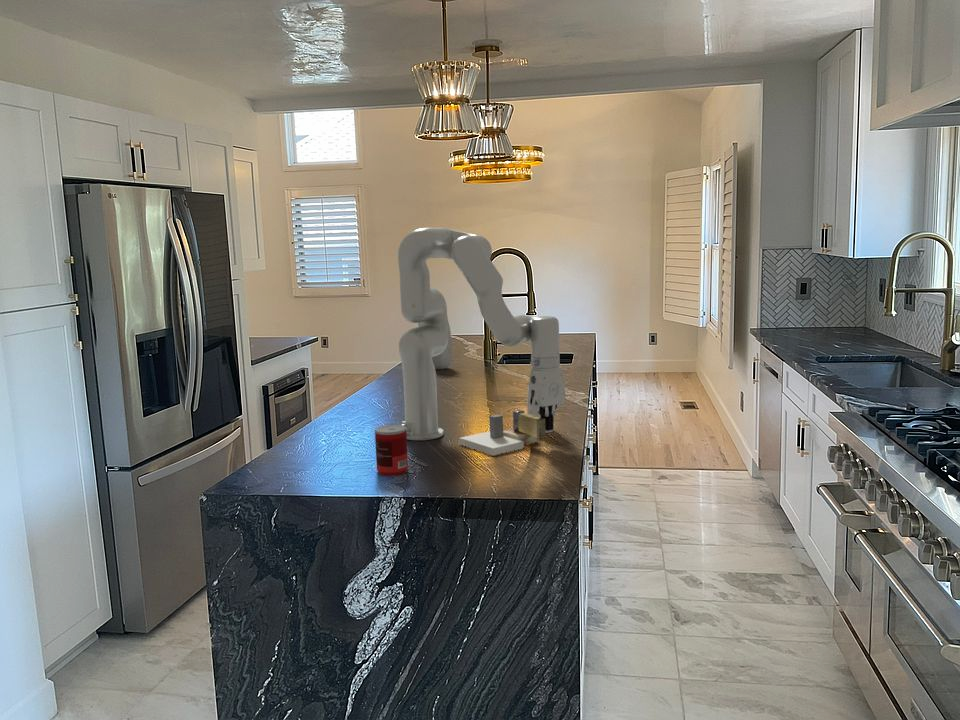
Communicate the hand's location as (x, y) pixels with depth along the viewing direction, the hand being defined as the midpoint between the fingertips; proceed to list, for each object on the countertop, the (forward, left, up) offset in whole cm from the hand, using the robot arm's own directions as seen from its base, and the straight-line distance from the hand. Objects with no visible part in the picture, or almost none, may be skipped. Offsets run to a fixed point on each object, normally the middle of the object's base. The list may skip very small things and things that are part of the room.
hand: (547, 429), depth 215 cm
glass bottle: (+51, +127, -5) cm, 137 cm away
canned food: (-44, +9, -5) cm, 45 cm away
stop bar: (-3, +4, -1) cm, 5 cm away
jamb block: (-3, +9, -5) cm, 10 cm away
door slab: (-12, +10, -5) cm, 16 cm away
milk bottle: (+10, +14, -5) cm, 18 cm away
